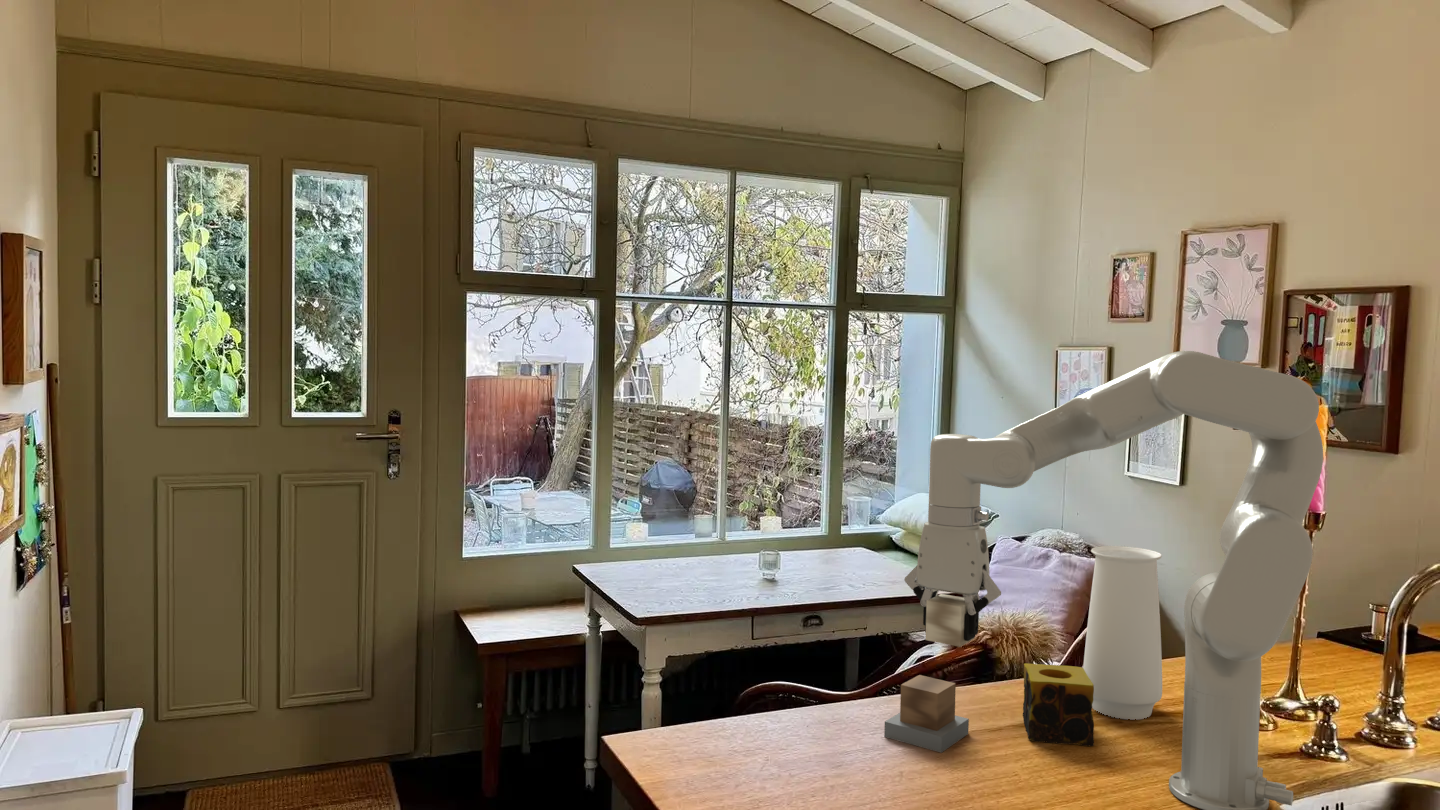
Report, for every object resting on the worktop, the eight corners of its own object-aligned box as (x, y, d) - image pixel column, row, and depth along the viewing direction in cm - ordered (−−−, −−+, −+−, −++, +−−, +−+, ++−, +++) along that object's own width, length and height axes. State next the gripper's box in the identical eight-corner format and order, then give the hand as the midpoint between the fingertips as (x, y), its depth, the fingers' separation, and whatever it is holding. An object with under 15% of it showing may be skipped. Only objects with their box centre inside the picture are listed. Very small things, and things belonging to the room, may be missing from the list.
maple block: (974, 638, 149) (975, 599, 149) (960, 646, 144) (961, 606, 144) (940, 631, 152) (941, 593, 152) (925, 639, 148) (926, 600, 147)
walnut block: (954, 719, 160) (955, 683, 160) (936, 731, 155) (937, 693, 155) (918, 710, 164) (919, 674, 164) (900, 721, 159) (900, 684, 159)
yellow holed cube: (1094, 748, 155) (1096, 686, 155) (1028, 742, 157) (1029, 681, 157) (1083, 724, 165) (1085, 666, 165) (1021, 719, 167) (1023, 661, 167)
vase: (1171, 725, 165) (1176, 561, 164) (1090, 720, 167) (1095, 557, 166) (1149, 699, 178) (1154, 546, 176) (1075, 694, 180) (1079, 543, 178)
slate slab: (968, 733, 160) (968, 718, 160) (941, 752, 153) (941, 736, 152) (913, 719, 167) (913, 704, 166) (884, 736, 159) (884, 721, 159)
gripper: (1018, 519, 145) (1014, 640, 146) (912, 507, 155) (908, 620, 156) (1000, 526, 139) (996, 651, 140) (890, 513, 149) (887, 630, 150)
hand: (950, 633), depth 148 cm, fingers closed on maple block, 5 cm apart
